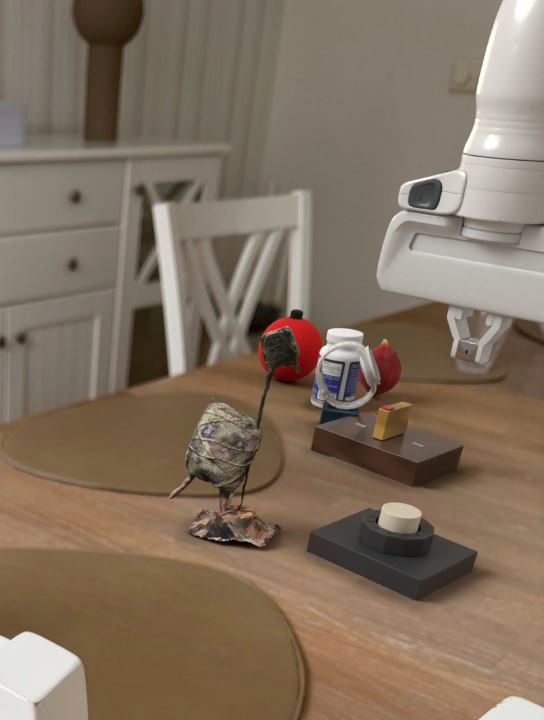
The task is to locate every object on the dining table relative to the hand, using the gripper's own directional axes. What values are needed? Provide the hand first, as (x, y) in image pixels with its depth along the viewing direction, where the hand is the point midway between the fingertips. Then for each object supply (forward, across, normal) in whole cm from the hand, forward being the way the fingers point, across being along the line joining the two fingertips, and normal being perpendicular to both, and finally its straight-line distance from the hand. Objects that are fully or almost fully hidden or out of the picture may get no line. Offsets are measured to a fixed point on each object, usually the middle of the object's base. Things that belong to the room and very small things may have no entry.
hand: (468, 360), depth 89 cm
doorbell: (+18, -1, +8) cm, 20 cm away
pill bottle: (+18, +31, -29) cm, 46 cm away
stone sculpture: (+18, +14, +16) cm, 27 cm away
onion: (+18, +30, -38) cm, 51 cm away
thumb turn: (+15, +15, -16) cm, 27 cm away
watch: (+18, +24, -20) cm, 37 cm away
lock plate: (+18, +15, -16) cm, 29 cm away
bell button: (+14, -1, +8) cm, 16 cm away
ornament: (+17, +42, -33) cm, 56 cm away
